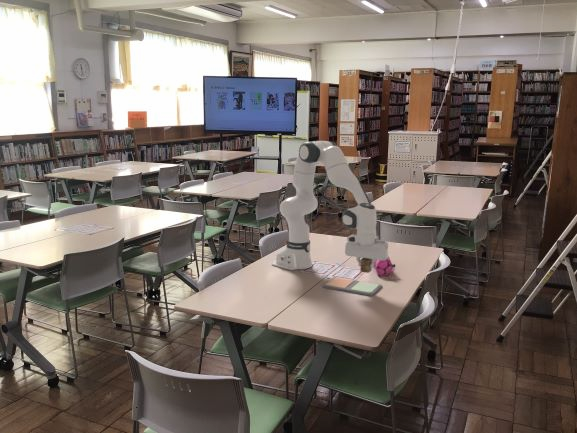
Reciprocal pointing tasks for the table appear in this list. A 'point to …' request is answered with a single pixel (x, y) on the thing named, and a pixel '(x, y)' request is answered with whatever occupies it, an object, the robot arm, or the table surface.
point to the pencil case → (384, 266)
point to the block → (365, 265)
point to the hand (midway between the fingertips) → (366, 266)
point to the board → (352, 286)
